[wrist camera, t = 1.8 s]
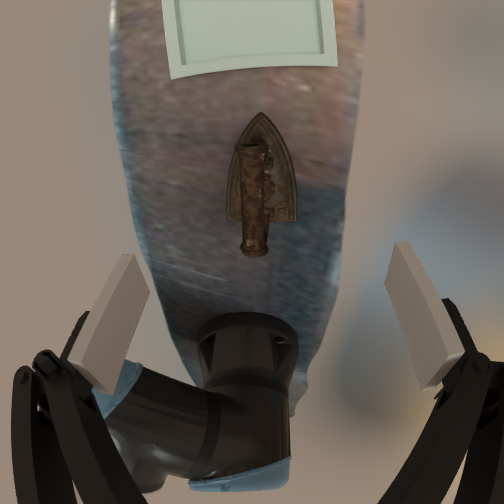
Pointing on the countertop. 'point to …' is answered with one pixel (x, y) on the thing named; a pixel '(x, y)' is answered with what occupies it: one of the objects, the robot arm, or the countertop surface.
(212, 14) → the iron rest
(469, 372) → the robot arm
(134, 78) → the countertop surface
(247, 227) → the clothes iron
